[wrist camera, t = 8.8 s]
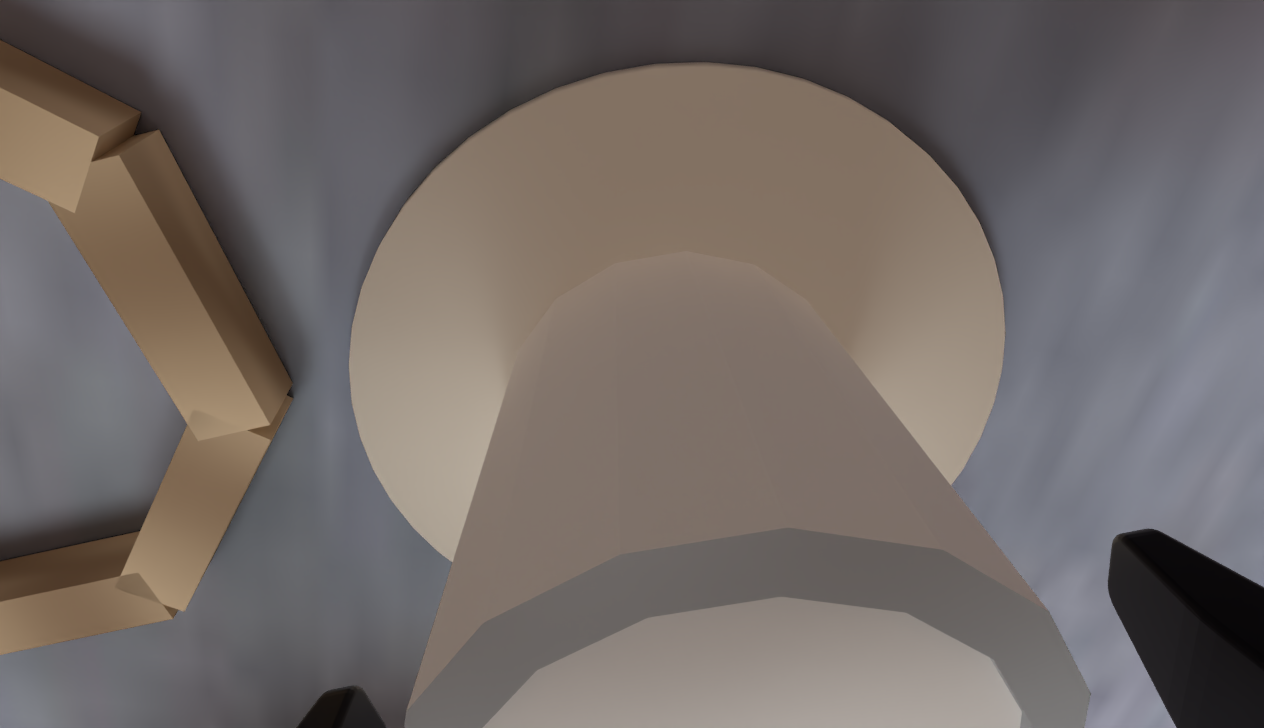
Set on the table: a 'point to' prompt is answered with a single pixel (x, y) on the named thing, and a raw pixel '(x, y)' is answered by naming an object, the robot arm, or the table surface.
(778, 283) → the shot glass
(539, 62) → the table surface
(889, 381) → the coaster mat
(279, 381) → the oak collar
